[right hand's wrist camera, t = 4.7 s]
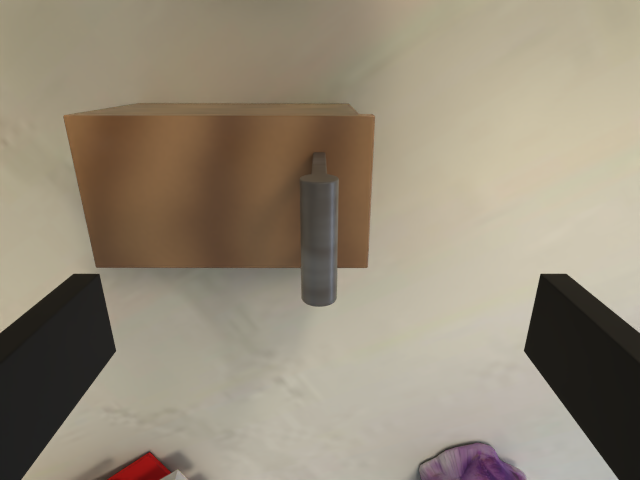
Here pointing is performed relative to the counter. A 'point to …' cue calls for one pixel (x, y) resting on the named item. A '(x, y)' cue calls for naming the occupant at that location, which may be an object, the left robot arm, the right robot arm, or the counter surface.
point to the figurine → (469, 465)
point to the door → (227, 191)
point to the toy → (147, 471)
